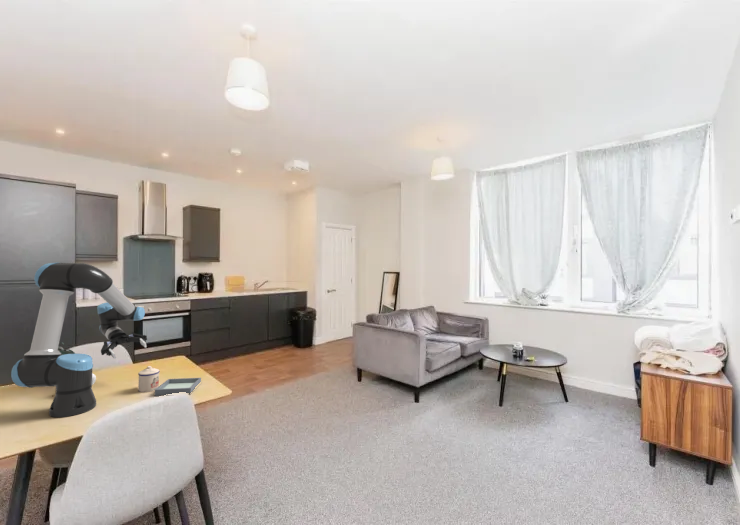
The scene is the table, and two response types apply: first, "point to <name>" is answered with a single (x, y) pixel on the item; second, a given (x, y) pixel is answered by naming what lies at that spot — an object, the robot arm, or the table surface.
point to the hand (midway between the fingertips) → (130, 350)
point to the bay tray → (177, 386)
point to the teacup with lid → (148, 379)
